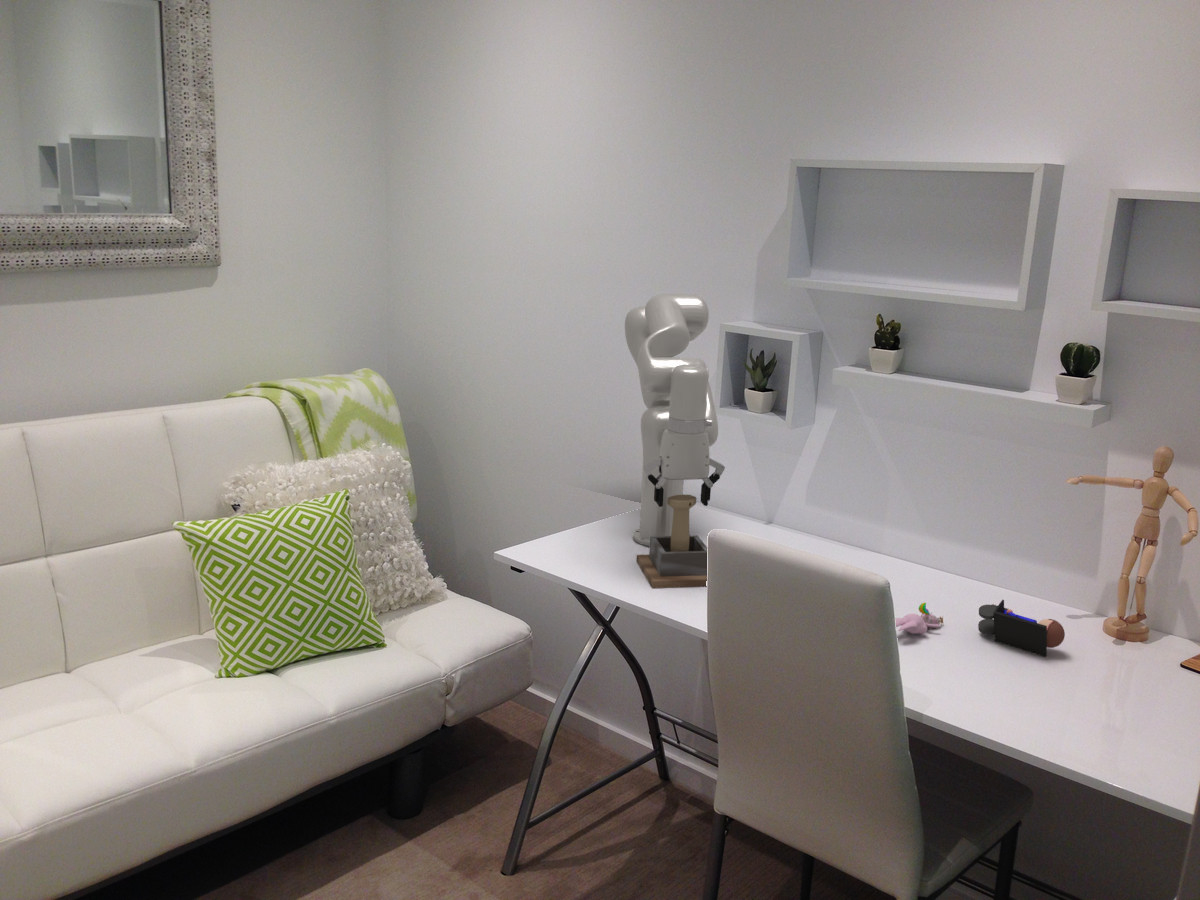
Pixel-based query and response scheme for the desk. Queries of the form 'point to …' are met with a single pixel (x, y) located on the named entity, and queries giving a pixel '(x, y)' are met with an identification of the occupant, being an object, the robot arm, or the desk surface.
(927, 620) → the pink unicorn toy
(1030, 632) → the character figurine
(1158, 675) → the desk surface
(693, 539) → the stand
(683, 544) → the handle
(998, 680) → the desk surface
